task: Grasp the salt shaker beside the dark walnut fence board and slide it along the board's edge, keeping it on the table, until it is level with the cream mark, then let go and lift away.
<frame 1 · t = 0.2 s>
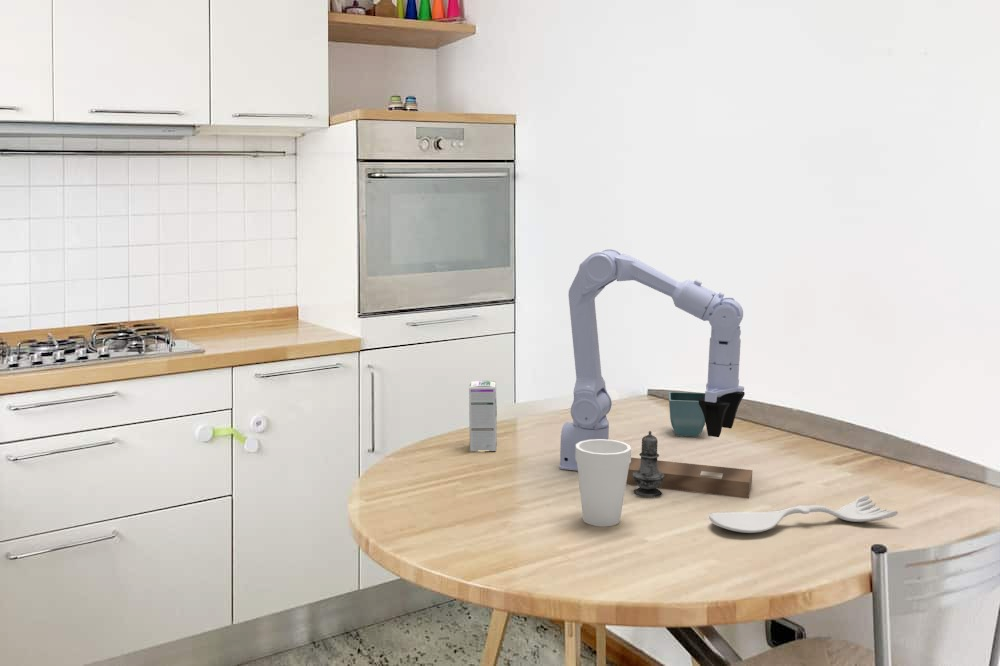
hand: (720, 431, 181), 10 cm above the table, tool pointing down, fingers open, 7 cm apart
foam cup: (601, 521, 161), on the table
flower pot: (686, 435, 217), on the table
spoon: (798, 527, 160), on the table
walnut fence board: (685, 484, 180), on the table
syrup box: (482, 449, 203), on the table
salt shaker: (647, 494, 175), on the table
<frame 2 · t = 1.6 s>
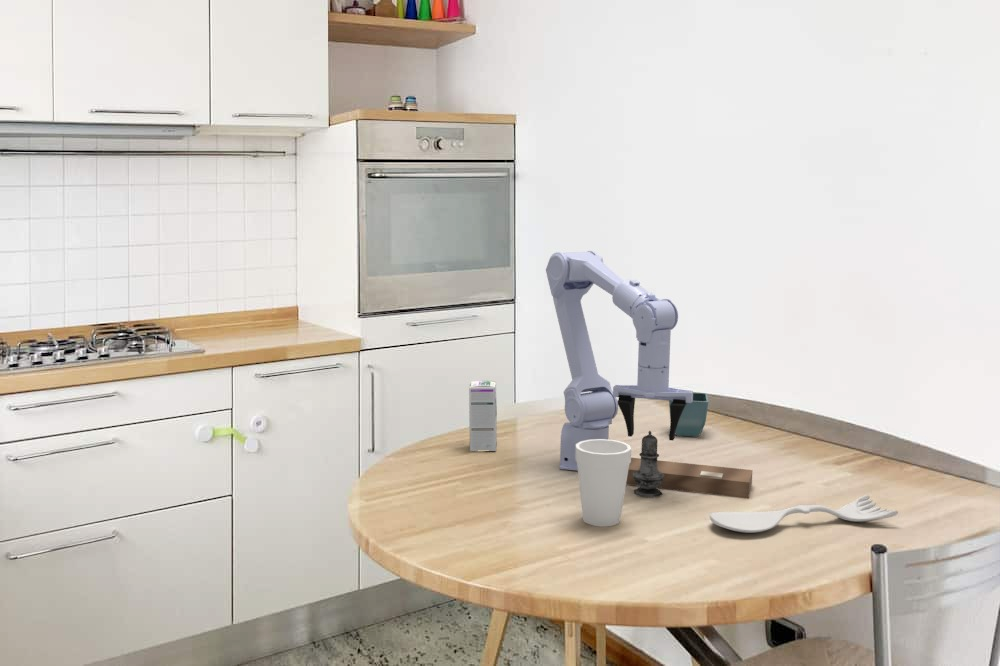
hand: (651, 437, 175), 10 cm above the table, tool pointing down, fingers open, 7 cm apart
nothing on the table moved.
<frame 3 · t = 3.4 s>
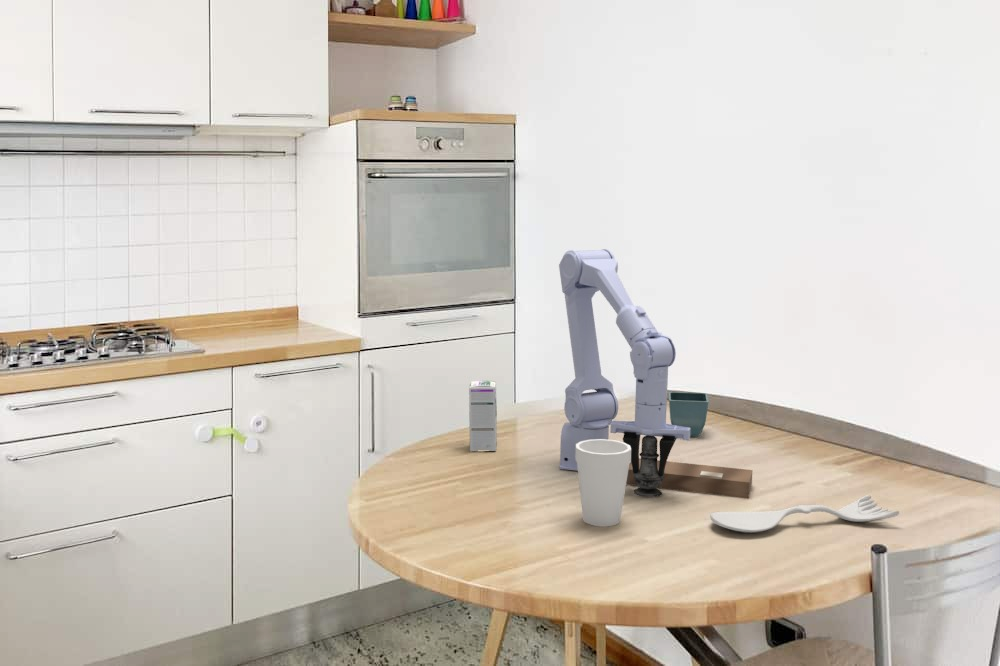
hand: (648, 473, 174), 4 cm above the table, tool pointing down, fingers closed on salt shaker, 4 cm apart
salt shaker: (647, 493, 175), on the table, touching gripper
everything else where it was.
when the fingers open (4 cm above the table, at t = 4.2 s): salt shaker moves 6 cm, on the table.
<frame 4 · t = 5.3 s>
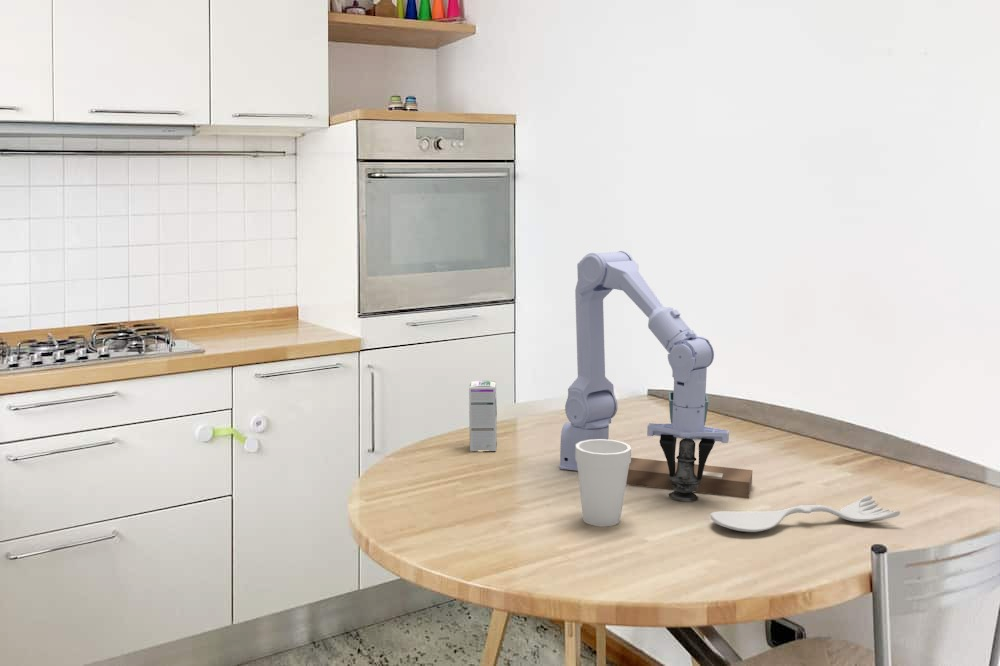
hand: (685, 476, 172), 4 cm above the table, tool pointing down, fingers open, 4 cm apart
salt shaker: (683, 497, 173), on the table, touching gripper
everything else where it was.
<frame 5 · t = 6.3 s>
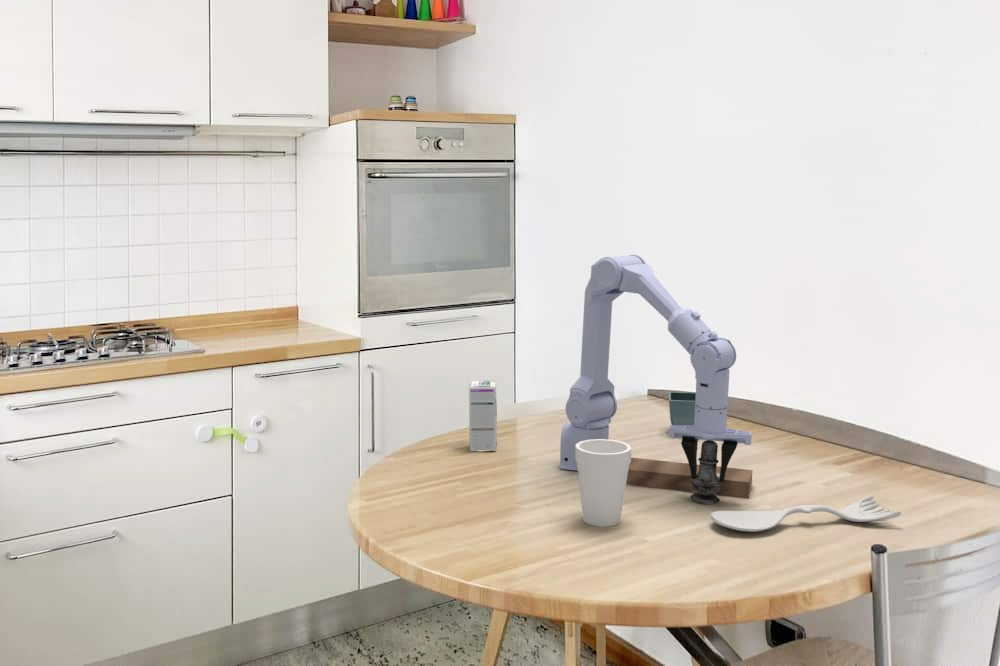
hand: (707, 478, 171), 4 cm above the table, tool pointing down, fingers open, 4 cm apart
salt shaker: (704, 499, 172), on the table, touching gripper
everything else where it was.
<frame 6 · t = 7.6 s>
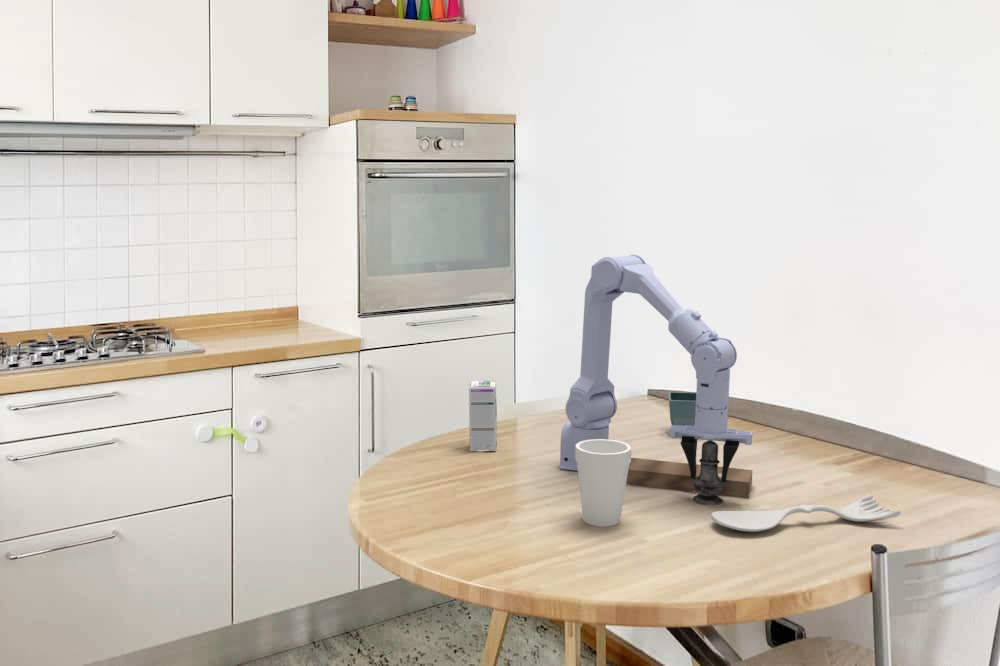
hand: (708, 478, 171), 4 cm above the table, tool pointing down, fingers open, 5 cm apart
salt shaker: (707, 501, 172), on the table
everything else where it was.
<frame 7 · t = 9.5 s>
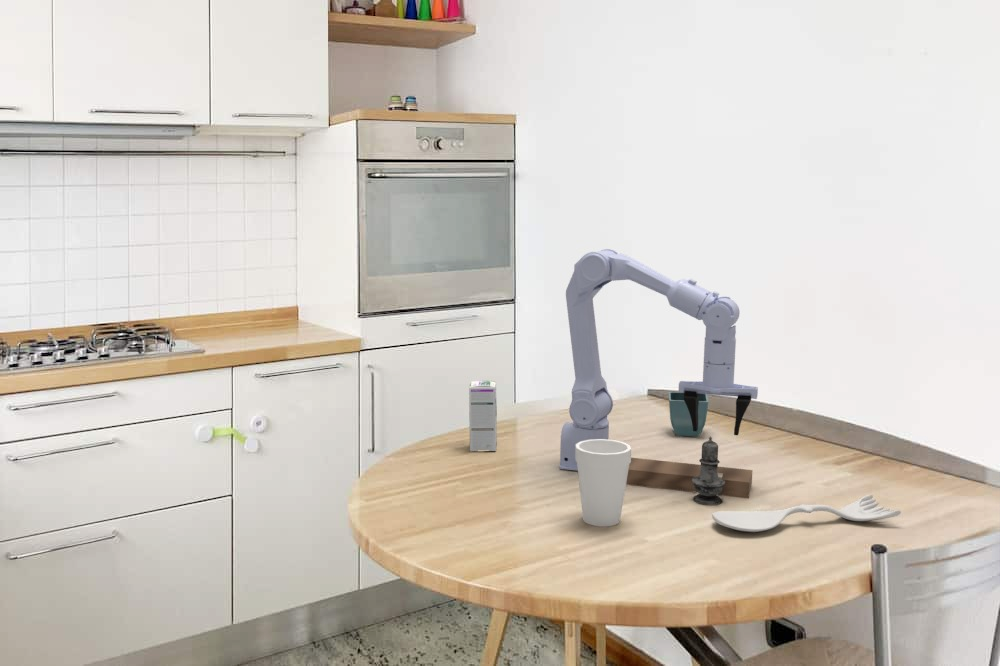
hand: (715, 432, 179), 10 cm above the table, tool pointing down, fingers open, 7 cm apart
nothing on the table moved.
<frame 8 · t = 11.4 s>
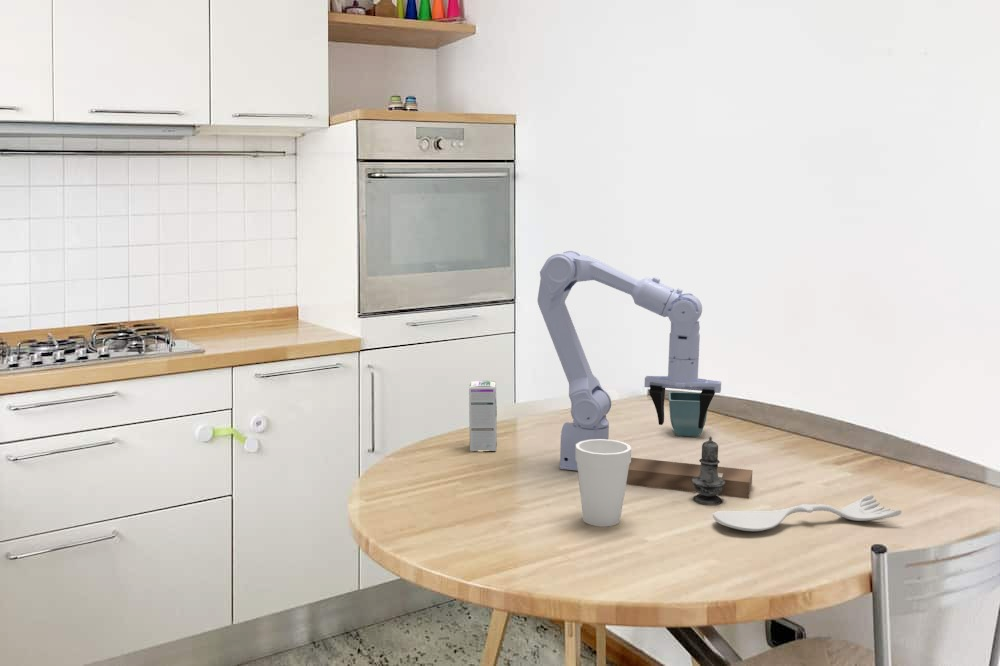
hand: (680, 425, 183), 10 cm above the table, tool pointing down, fingers open, 7 cm apart
nothing on the table moved.
at the end: salt shaker 0.0 cm from the target spot, on the table; salt shaker tilted 0°; the gripper is holding nothing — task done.
